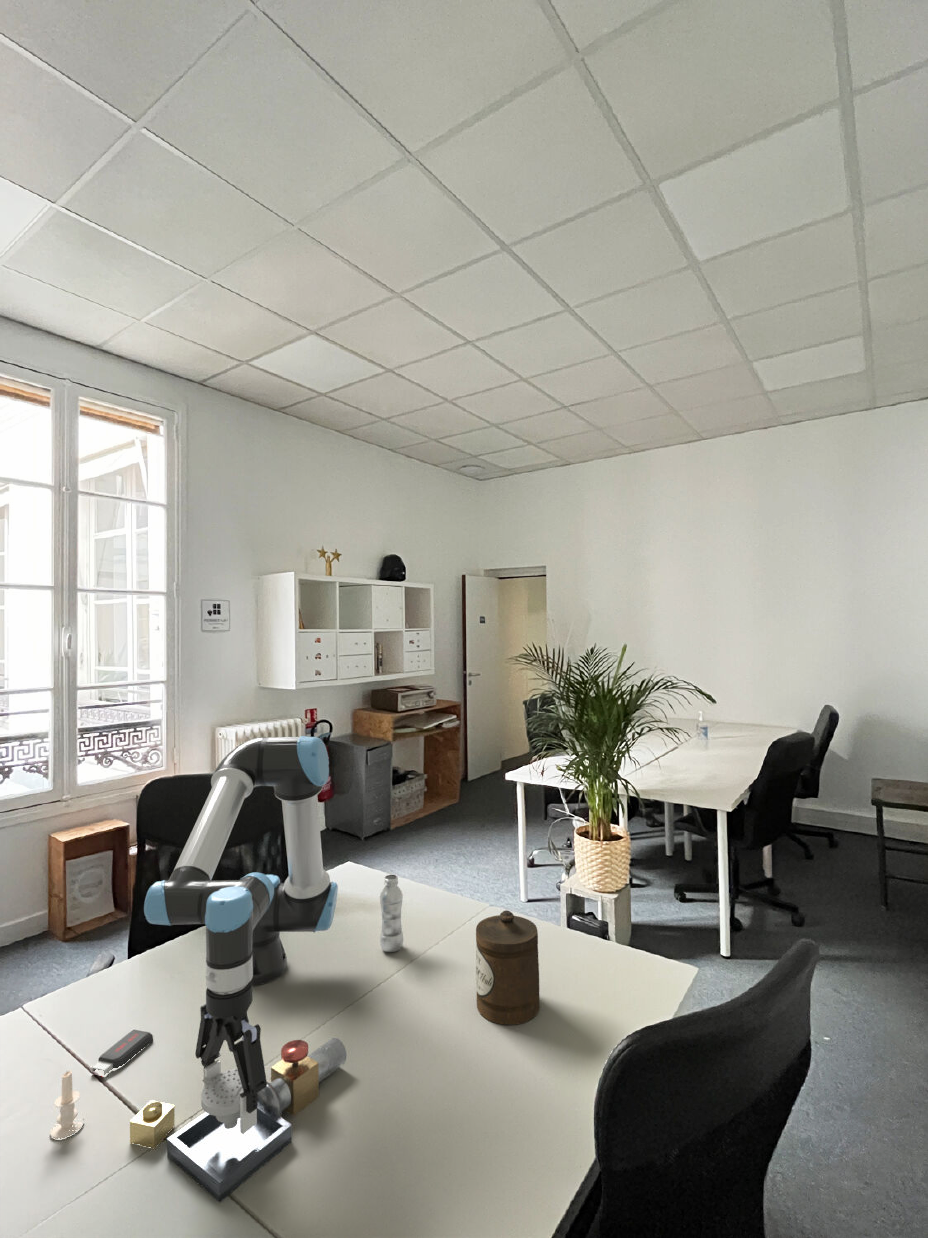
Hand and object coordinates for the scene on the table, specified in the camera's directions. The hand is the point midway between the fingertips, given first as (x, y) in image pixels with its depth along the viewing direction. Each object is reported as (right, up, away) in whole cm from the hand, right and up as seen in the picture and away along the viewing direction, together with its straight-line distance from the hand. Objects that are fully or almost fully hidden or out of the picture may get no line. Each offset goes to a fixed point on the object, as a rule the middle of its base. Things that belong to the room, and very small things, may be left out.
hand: (230, 1114), depth 108 cm
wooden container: (+51, -6, +40) cm, 65 cm away
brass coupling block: (-15, -6, +3) cm, 16 cm away
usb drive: (-31, -7, +24) cm, 40 cm away
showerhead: (0, -2, 0) cm, 2 cm away
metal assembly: (+5, -7, +7) cm, 11 cm away
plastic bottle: (+20, -7, +67) cm, 70 cm away
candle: (-31, -6, +5) cm, 32 cm away
